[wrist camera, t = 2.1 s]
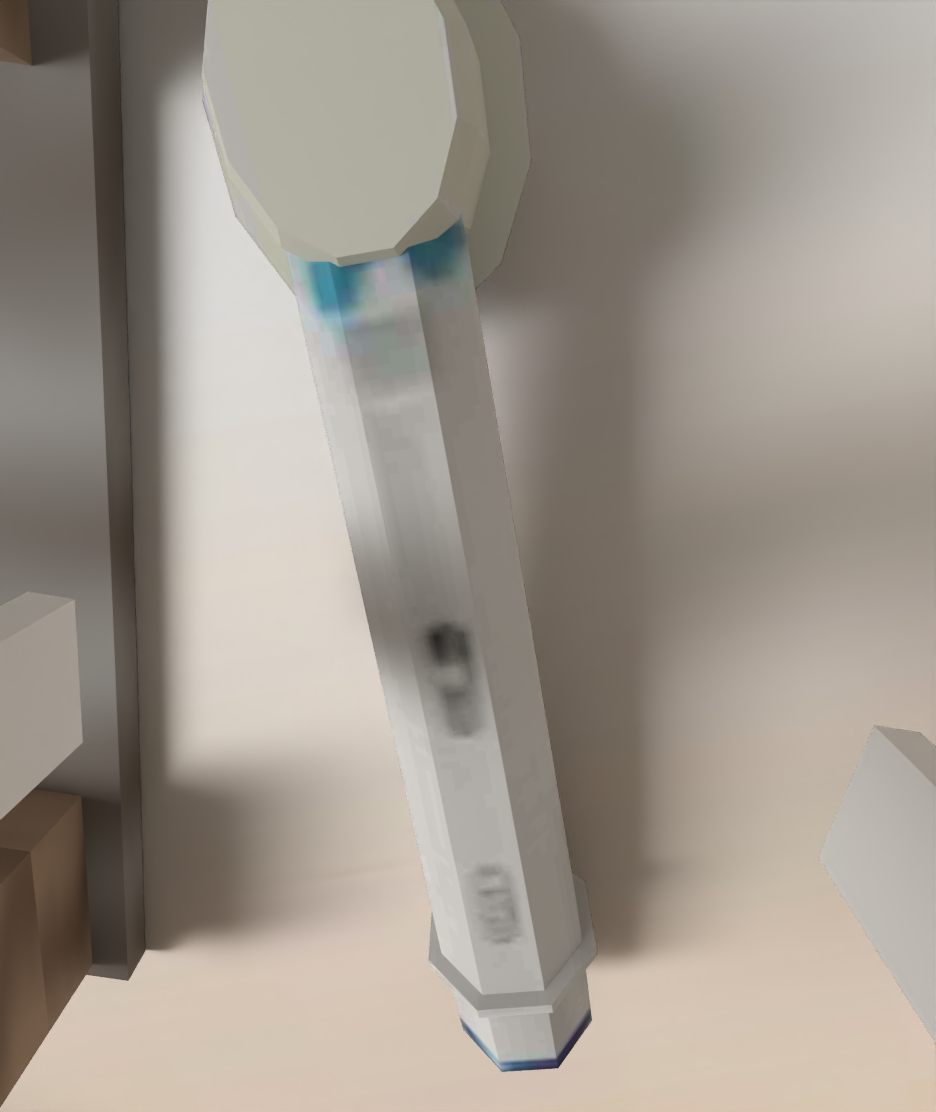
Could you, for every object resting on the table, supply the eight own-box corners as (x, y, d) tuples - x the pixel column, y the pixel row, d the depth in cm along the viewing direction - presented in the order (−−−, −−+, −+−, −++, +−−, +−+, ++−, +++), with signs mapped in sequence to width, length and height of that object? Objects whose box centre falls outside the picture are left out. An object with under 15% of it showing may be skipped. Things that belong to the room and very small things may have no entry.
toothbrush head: (433, 1091, 17) (-63, -301, 6) (445, 867, 23) (216, -20, 12) (630, 1078, 16) (516, -455, 5) (589, 854, 22) (495, -80, 11)
